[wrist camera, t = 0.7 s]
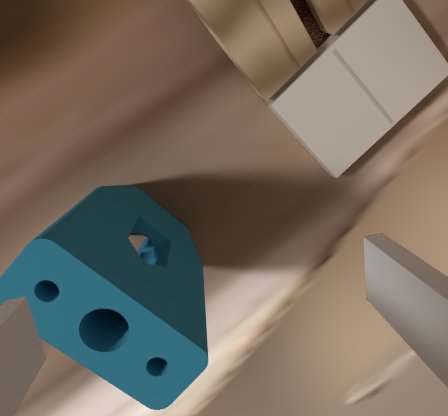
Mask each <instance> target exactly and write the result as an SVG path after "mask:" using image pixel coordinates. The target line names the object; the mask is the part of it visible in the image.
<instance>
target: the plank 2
mask: <svg viewBox="0 0 448 416" xmlns="http://www.w3.org/2000/svg"><path fill="white" fill-rule="evenodd" d="M305 1H306V3H307V5H308V6H309V8H310V10H311V12H312V14H313V16H314V18H315V20H316V22H317V24H318V26H319V28H320V30H321V31H323V32H326V33H329V34H332V35H334V34H335V33H336V32H337V31H338V30H339V29H340V28H341V27H342V26H343V25H344V24H345V23H346V22H347V21H348V20H349V19H350V18H351V17H352V16H353V15H354V14H355V13H356V12H357V11H358V10H359V9H360V8H361V7H362V6H363V5H364V4H365V3H366V2H367V1H368V0H305Z"/></svg>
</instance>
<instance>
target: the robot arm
mask: <svg viewBox="0 0 448 416" xmlns="http://www.w3.org/2000/svg"><path fill="white" fill-rule="evenodd" d="M363 241H364V242H363V243H364V259H365V277H366V293H367V300H368V301H369V302H370V303H371V304H372V305H373V306H374V307H375V309H376V310H377V311H378V312H379V313H380V314H381V315H382V316H383V317H384V318H385V320H386V321H387V322H388V323H389V324H390V325H391V326H392V327H393V328H394V329H395V330H396V331H397V333H398V334H399V335H400V336H401V337H402V338H403V339H404V340H405V342H406V343H407V344H408V345H409V346H410V347H411V348H412V349H413V350H414V351H415V352H416V354H417V355H418V356H419V357H420V358H421V359H422V360H423V361H424V362H425V363H426V364H427V366H428V367H429V368H430V369H431V370H432V371H433V372H434V373H435V374H436V375H437V377H438V378H439V379H440V380H441V381H442V382H443V383H444V384H445V385H446V386H447V387H448V277H447V276H445V275H444V274H443V273H441V272H440V271H438V270H437V269H435V268H434V267H432V266H430V265H429V264H428V263H426V262H424V261H423V260H422V259H420V258H419V257H417V256H416V255H414V254H413V253H411V252H410V251H408V250H407V249H405V248H403V247H402V246H400V245H399V244H397V243H396V242H394V241H393V240H391V239H390V238H388V237H387V236H385V235H384V234H382V233H381V234H375V235H370V236H364V237H363ZM45 360H46V356H45V353H44V350H43V347H42V344H41V341H40V338H39V335H38V332H37V328H36V325H35V322H34V319H33V316H32V313H31V310H30V307H29V304H28V301H27V298H26V297H21V298H16V299H10V300H5V301H4V302H3V303H2V304H1V306H0V416H13V415H14V414H15V412H16V410H17V408H18V407H19V405H20V403H21V401H22V400H23V398H24V396H25V395H26V393H27V391H28V389H29V388H30V386H31V384H32V382H33V381H34V379H35V377H36V375H37V374H38V372H39V370H40V368H41V367H42V365H43V363H44V362H45Z"/></svg>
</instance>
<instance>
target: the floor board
mask: <svg viewBox="0 0 448 416" xmlns="http://www.w3.org/2000/svg"><path fill="white" fill-rule="evenodd" d="M316 49H317V52H316V53H315V54H314V55H313V56H312V57H311V58H310V59H309V60H308V61H307V62H306V63H305V64H304V65H303V66H302V67H301V68H300V69H299V70H298V71H297V72H296V73H295V74H294V75H293V76H292V77H291V78H290V79H289V80H288V81H287V82H286V83H285V84H284V85H283V86H282V87H281V88H280V89H279V90H278V91H276V92H275V93H274V94H273V95H272V96H271V97H270V98H269V99H268V100H267V101H266V100H264V102H265V104H266V105H267V106H268V107H269V108H270V109H271V110H272V111H273V112H274V114H275V115H276V116H277V117H278V118H279V119H280V120H281V121H282V122H283V124H284V125H285V126H286V127H287V128H288V129H289V130H290V131H291V133H292V134H293V135H294V136H295V137H296V138H297V139H298V140H299V141H300V143H301V144H302V145H303V146H304V147H305V148H306V149H307V150H308V151H309V153H310V154H311V155H312V156H313V157H314V158H315V159H316V160H317V162H318V163H319V164H320V165H321V166H322V167H323V168H324V169H325V170H326V172H327V173H328V174H329V175H330V176H332V177H334V178H336V179H337V178H338V177H339V176H340V175H341V174H342V173H343V172H344V171H345V170H346V169H347V168H349V167H350V166H351V165H352V164H353V163H354V162H355V161H356V160H357V159H358V158H359V157H360V156H361V155H363V154H364V153H365V152H366V151H367V150H368V149H369V148H370V147H371V146H372V145H373V144H374V143H376V142H377V141H378V140H379V139H380V138H381V137H382V136H383V135H384V134H385V133H386V132H387V131H388V130H390V129H391V128H392V127H393V126H394V125H395V124H396V123H397V122H398V121H399V120H400V119H401V118H402V117H404V116H405V115H406V114H407V113H408V112H409V111H410V110H411V109H412V108H413V107H414V106H415V105H417V104H418V103H419V102H420V101H421V100H422V99H423V98H424V97H425V96H426V95H427V94H428V93H429V92H431V91H432V90H433V89H434V88H435V87H436V86H437V85H438V84H439V83H440V82H441V81H442V80H444V79H445V78H446V77H447V76H448V63H447V61H446V60H445V59H444V57H443V56H442V54H441V53H440V52H439V50H438V49H437V47H436V46H435V45H434V43H433V42H432V40H431V39H430V38H429V36H428V35H427V34H426V32H425V31H424V29H423V28H422V27H421V25H420V24H419V22H418V21H417V20H416V18H415V17H414V15H413V14H412V13H411V11H410V10H409V9H408V7H407V6H406V4H405V3H404V2H403V0H368V1H367V2H366V3H365V4H364V5H363V6H362V7H361V8H360V9H359V10H358V11H357V12H356V13H355V14H354V15H353V16H352V17H351V18H350V19H349V20H348V21H347V22H346V23H345V24H344V25H343V26H342V27H341V28H340V29H339V30H338V31H337V32H336V33H335V34H334V35H332V34H330V35H329V36H328V37H327V38H326V39H325V40H324V41H323V42H322V43H321V44H320V45H319V46H318V47H317V48H316Z"/></svg>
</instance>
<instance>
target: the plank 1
mask: <svg viewBox="0 0 448 416" xmlns="http://www.w3.org/2000/svg"><path fill="white" fill-rule="evenodd" d="M186 1H187V3H188V4H189V5H190V7H191V8H192V9H193V11H194V12H195V13H196V15H197V16H198V17H199V19H200V20H201V21H202V22H203V24H204V25H205V26H206V28H207V29H208V30H209V32H210V33H211V34H212V36H213V37H214V38H215V40H216V41H217V42H218V43H219V45H220V46H221V47H222V49H223V50H224V51H225V53H226V54H227V55H228V57H229V58H230V59H231V61H232V62H233V63H234V64H235V66H236V67H237V68H238V70H239V71H240V72H241V74H242V75H243V76H244V78H245V79H246V80H247V82H248V83H249V84H250V85H251V87H252V88H253V89H254V91H255V92H256V93H257V95H259V96H260V97H262V98H263V99H265V100H266V101H267V100H268V99H269V98H270V97H271V96H272V95H273V94H274V93H275V92H276V91H278V90H279V89H280V88H281V87H282V86H283V85H284V84H285V83H286V82H287V81H288V80H289V79H290V78H291V77H292V76H293V75H294V74H295V73H296V72H297V71H298V70H299V69H300V68H301V67H302V66H303V65H304V64H305V63H306V62H307V61H308V60H309V59H310V58H311V57H312V56H313V55H314V54H315V53H316V52H317V49H316V47H315V45H314V44H313V42H312V40H311V38H310V36H309V34H308V33H307V31H306V29H305V27H304V25H303V23H302V22H301V20H300V18H299V16H298V14H297V12H296V11H295V9H294V7H293V5H292V3H291V1H290V0H186Z"/></svg>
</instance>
